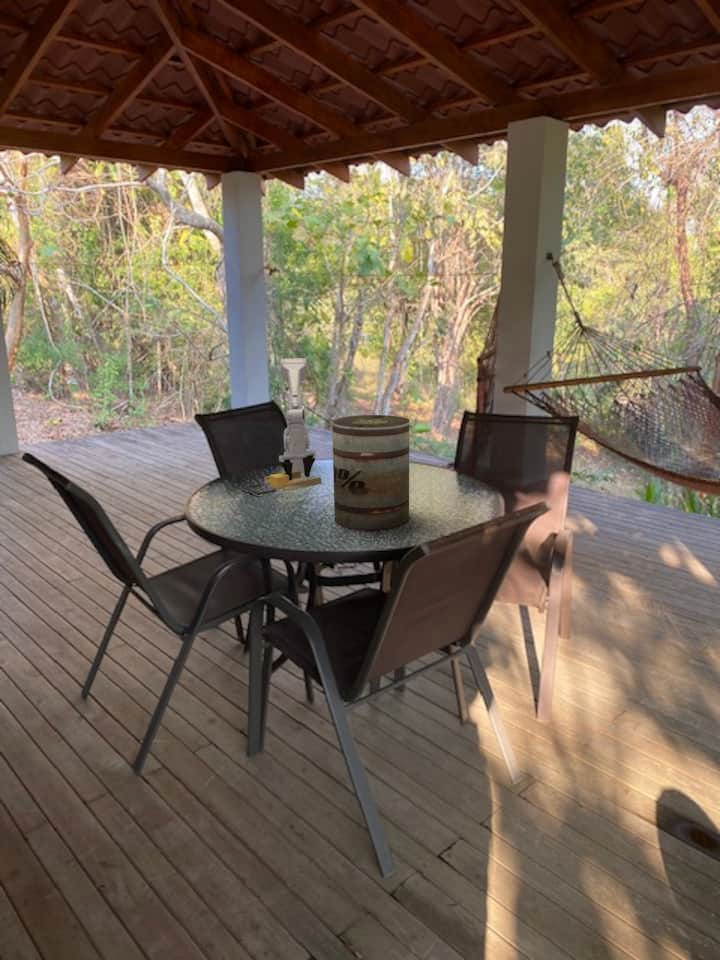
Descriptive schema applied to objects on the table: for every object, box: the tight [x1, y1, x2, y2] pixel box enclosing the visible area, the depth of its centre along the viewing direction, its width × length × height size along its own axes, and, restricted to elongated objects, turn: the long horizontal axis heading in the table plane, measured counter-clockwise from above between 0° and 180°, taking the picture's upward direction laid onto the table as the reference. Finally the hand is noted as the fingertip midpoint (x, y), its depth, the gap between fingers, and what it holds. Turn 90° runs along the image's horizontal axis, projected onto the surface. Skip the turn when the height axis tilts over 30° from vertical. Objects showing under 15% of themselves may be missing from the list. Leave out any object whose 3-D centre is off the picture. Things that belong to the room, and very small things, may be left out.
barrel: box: [331, 414, 410, 532], centre depth 197 cm, size 22×22×30 cm
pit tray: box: [241, 483, 276, 495], centre depth 233 cm, size 11×7×1 cm, turn 38°
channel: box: [263, 471, 322, 492], centre depth 241 cm, size 14×15×3 cm
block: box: [269, 472, 290, 489], centre depth 237 cm, size 5×5×4 cm
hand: (298, 478), depth 242 cm, fingers open, 7 cm apart
